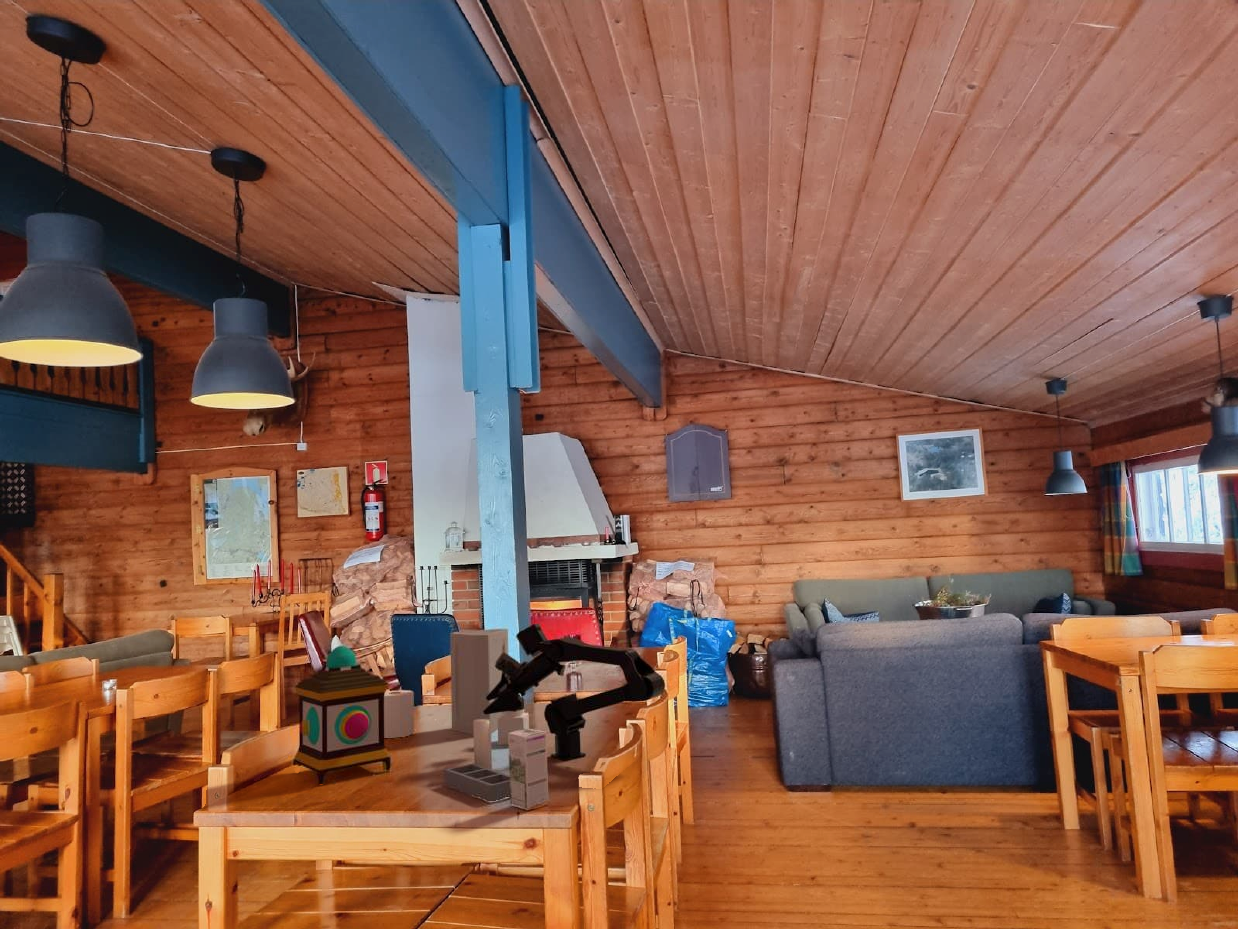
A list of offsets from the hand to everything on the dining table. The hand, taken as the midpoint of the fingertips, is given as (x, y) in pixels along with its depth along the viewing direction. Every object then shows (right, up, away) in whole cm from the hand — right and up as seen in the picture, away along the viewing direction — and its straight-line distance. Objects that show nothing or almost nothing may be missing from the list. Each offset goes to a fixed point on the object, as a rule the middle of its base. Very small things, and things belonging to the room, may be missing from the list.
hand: (485, 705), depth 214 cm
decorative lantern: (-32, -13, -12) cm, 37 cm away
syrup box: (+16, -7, -46) cm, 49 cm away
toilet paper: (-31, -17, +29) cm, 46 cm away
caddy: (+4, -9, -33) cm, 35 cm away
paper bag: (-8, -17, +35) cm, 40 cm away
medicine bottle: (+6, -14, +14) cm, 21 cm away
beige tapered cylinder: (+2, -10, -18) cm, 21 cm away
